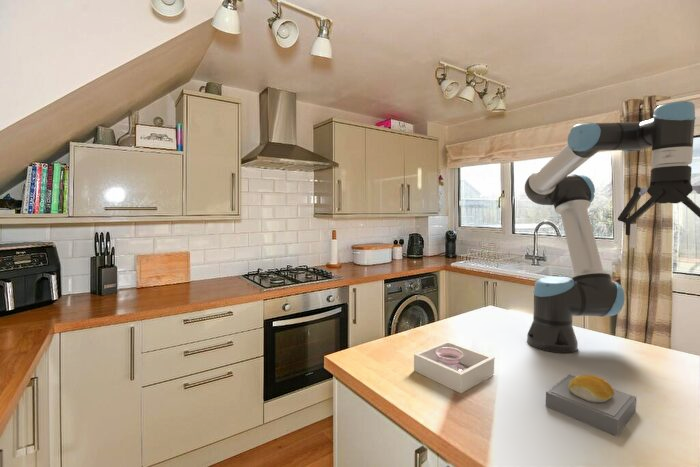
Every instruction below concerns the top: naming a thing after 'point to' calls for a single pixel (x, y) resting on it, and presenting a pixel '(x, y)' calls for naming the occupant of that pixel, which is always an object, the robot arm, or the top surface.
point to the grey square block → (592, 407)
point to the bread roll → (591, 388)
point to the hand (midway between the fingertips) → (665, 250)
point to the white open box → (456, 380)
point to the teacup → (450, 357)
